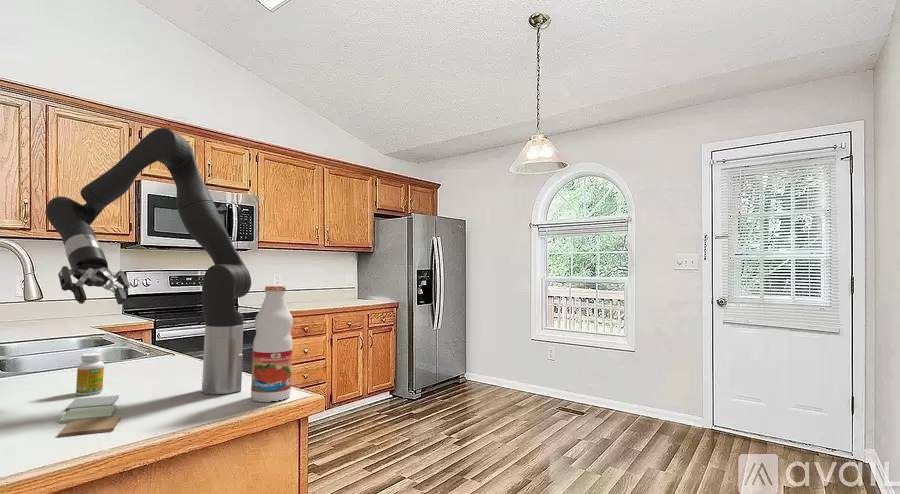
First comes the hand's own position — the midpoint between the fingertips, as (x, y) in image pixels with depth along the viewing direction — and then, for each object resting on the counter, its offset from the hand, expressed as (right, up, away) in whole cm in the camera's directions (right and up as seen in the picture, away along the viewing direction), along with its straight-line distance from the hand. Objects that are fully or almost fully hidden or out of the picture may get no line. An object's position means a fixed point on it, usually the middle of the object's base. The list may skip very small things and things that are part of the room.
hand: (103, 301), depth 117 cm
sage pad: (+7, -23, -14) cm, 28 cm away
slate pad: (+2, -23, -6) cm, 24 cm away
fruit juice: (+40, -25, +3) cm, 47 cm away
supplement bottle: (-6, -24, +4) cm, 25 cm away
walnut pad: (+13, -23, -21) cm, 34 cm away
